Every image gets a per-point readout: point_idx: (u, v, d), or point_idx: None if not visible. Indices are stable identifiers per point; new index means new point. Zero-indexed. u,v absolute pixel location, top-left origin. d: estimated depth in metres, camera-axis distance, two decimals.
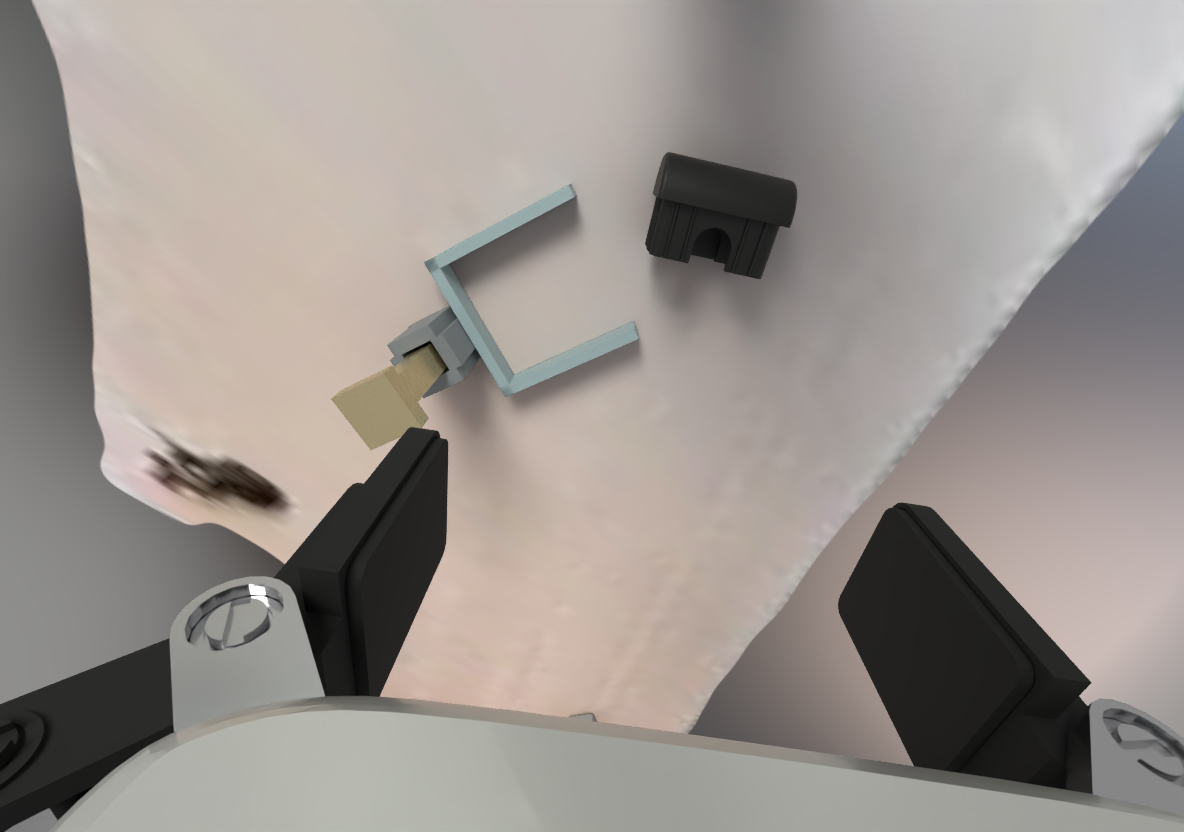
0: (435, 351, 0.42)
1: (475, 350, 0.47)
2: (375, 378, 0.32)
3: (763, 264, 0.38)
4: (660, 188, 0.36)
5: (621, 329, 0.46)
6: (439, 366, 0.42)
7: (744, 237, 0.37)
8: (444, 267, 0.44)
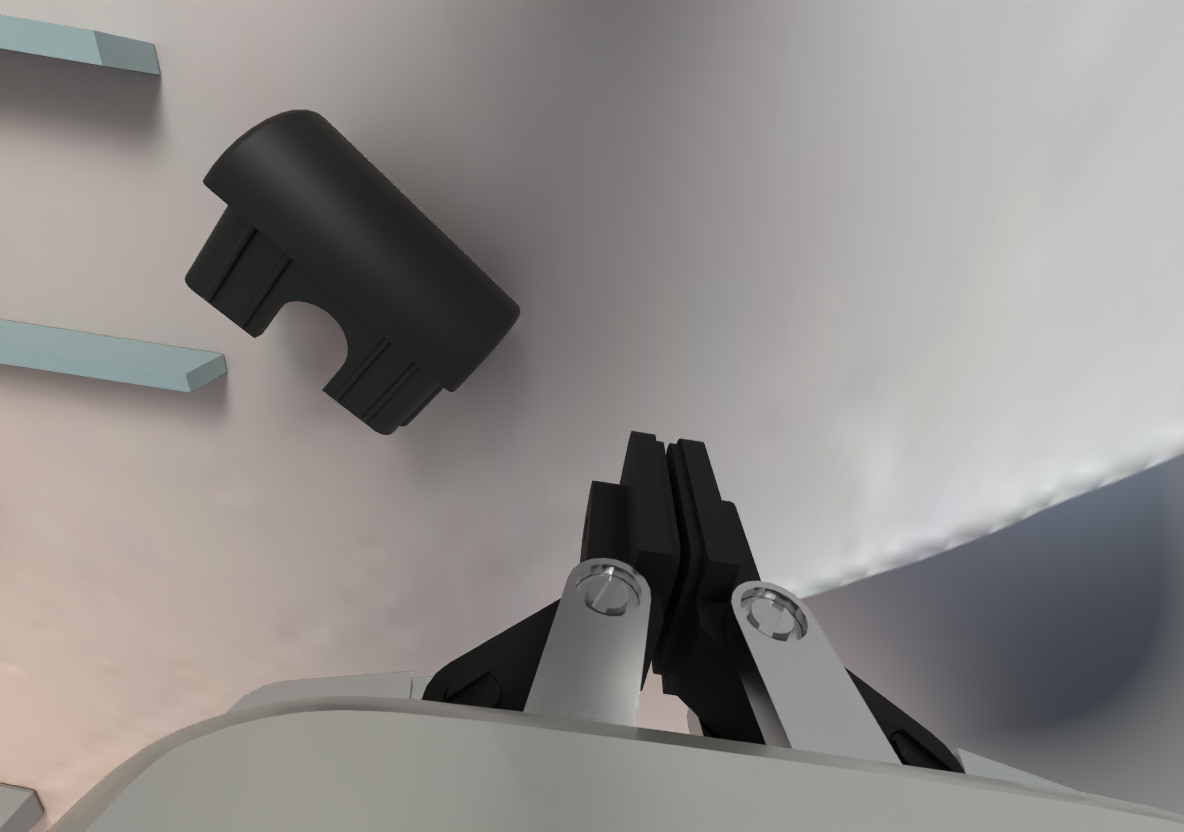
0: None
1: None
2: None
3: (397, 417, 0.20)
4: (214, 164, 0.15)
5: (184, 357, 0.25)
6: None
7: (371, 358, 0.18)
8: None
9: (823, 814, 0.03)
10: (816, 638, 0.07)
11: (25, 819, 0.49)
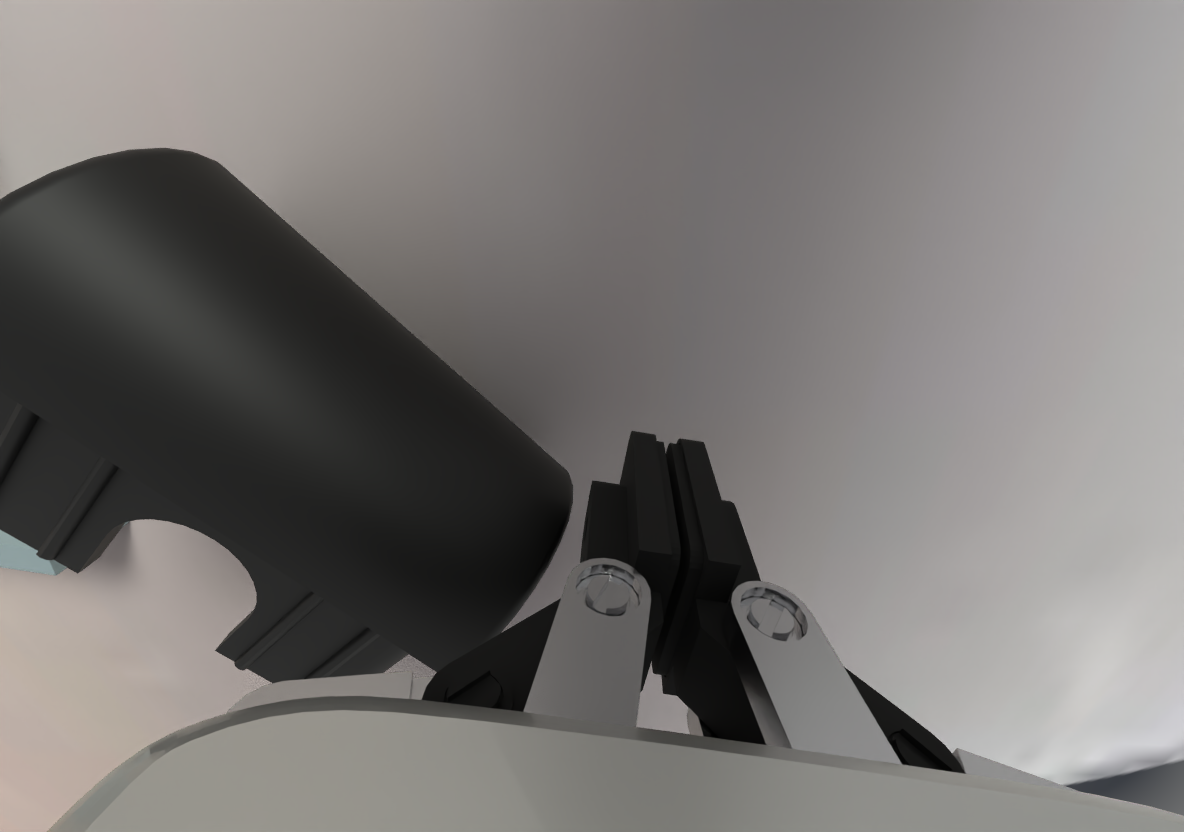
0: None
1: None
2: None
3: None
4: None
5: None
6: None
7: (301, 613, 0.10)
8: None
9: (823, 813, 0.03)
10: (816, 638, 0.07)
11: None
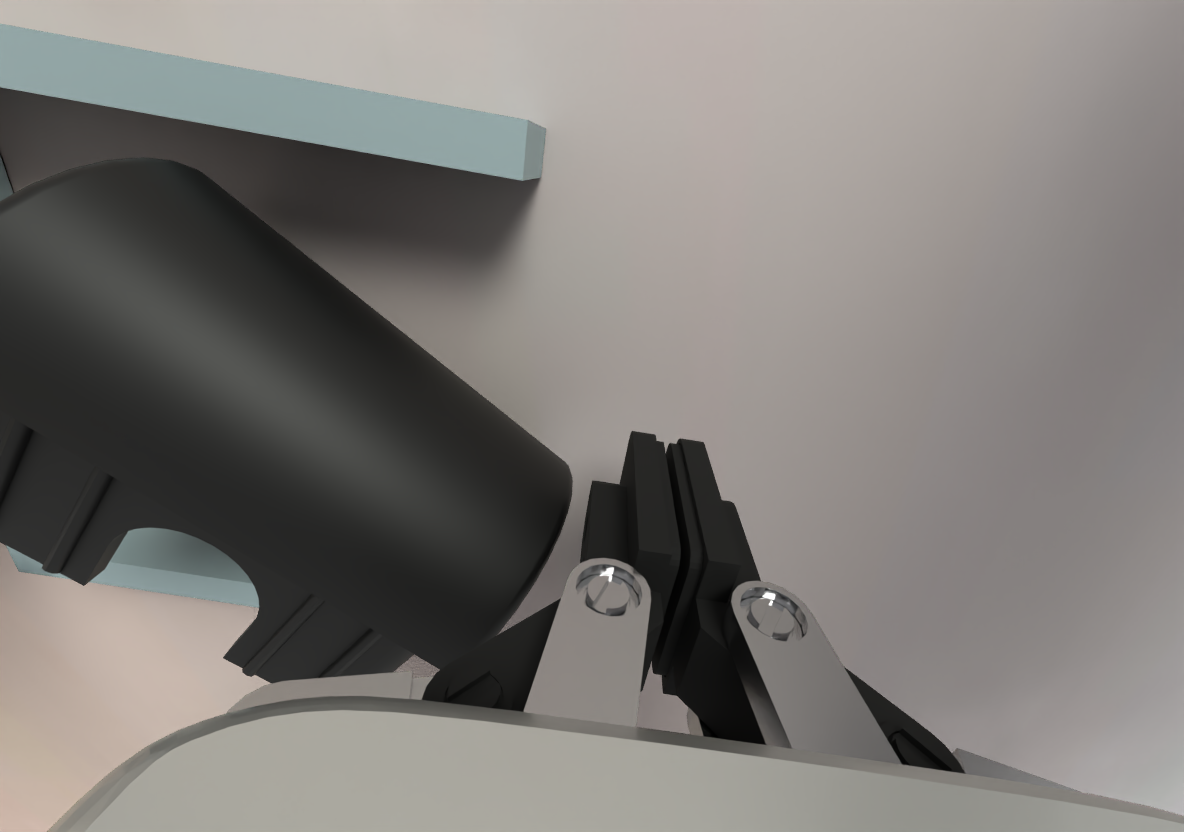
0: None
1: None
2: None
3: None
4: None
5: None
6: None
7: (303, 616, 0.10)
8: None
9: (823, 814, 0.03)
10: (816, 638, 0.07)
11: None
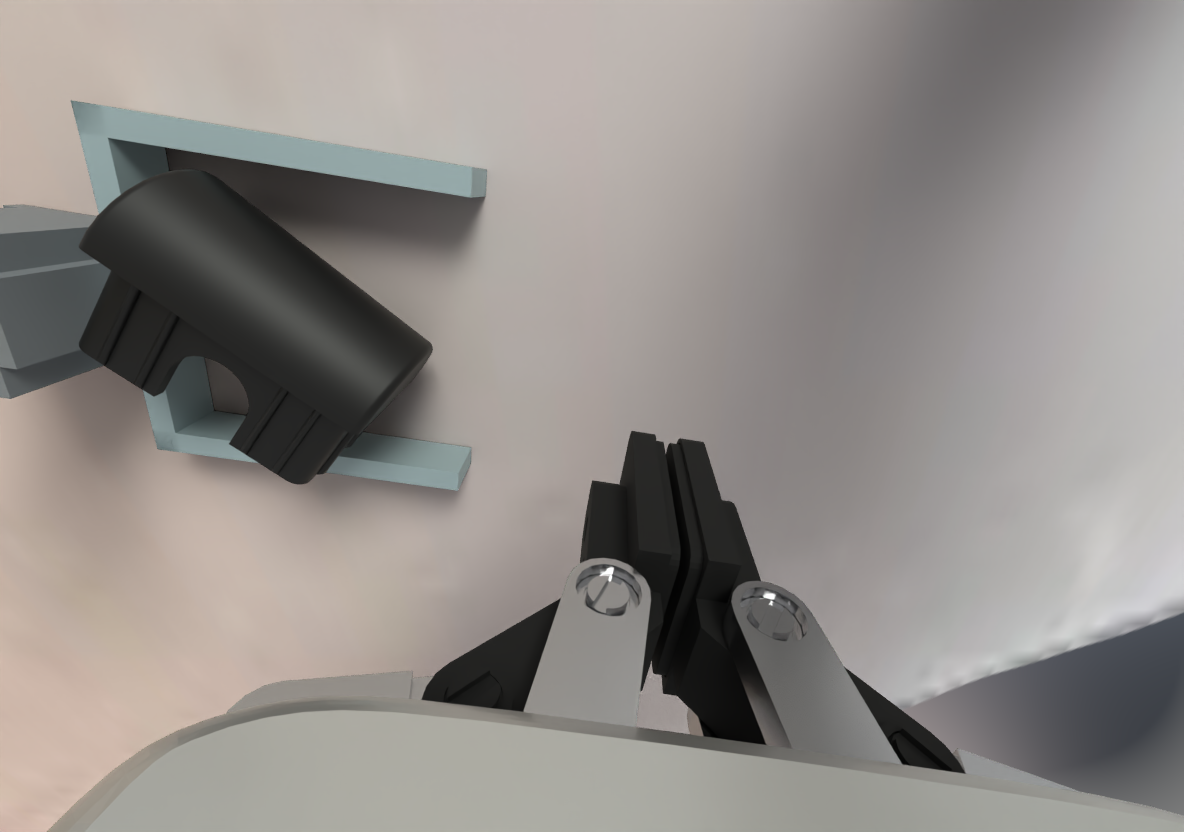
0: None
1: None
2: None
3: (308, 466, 0.19)
4: (89, 228, 0.15)
5: (442, 452, 0.25)
6: None
7: (272, 407, 0.18)
8: (133, 144, 0.19)
9: (823, 814, 0.03)
10: (816, 638, 0.07)
11: None
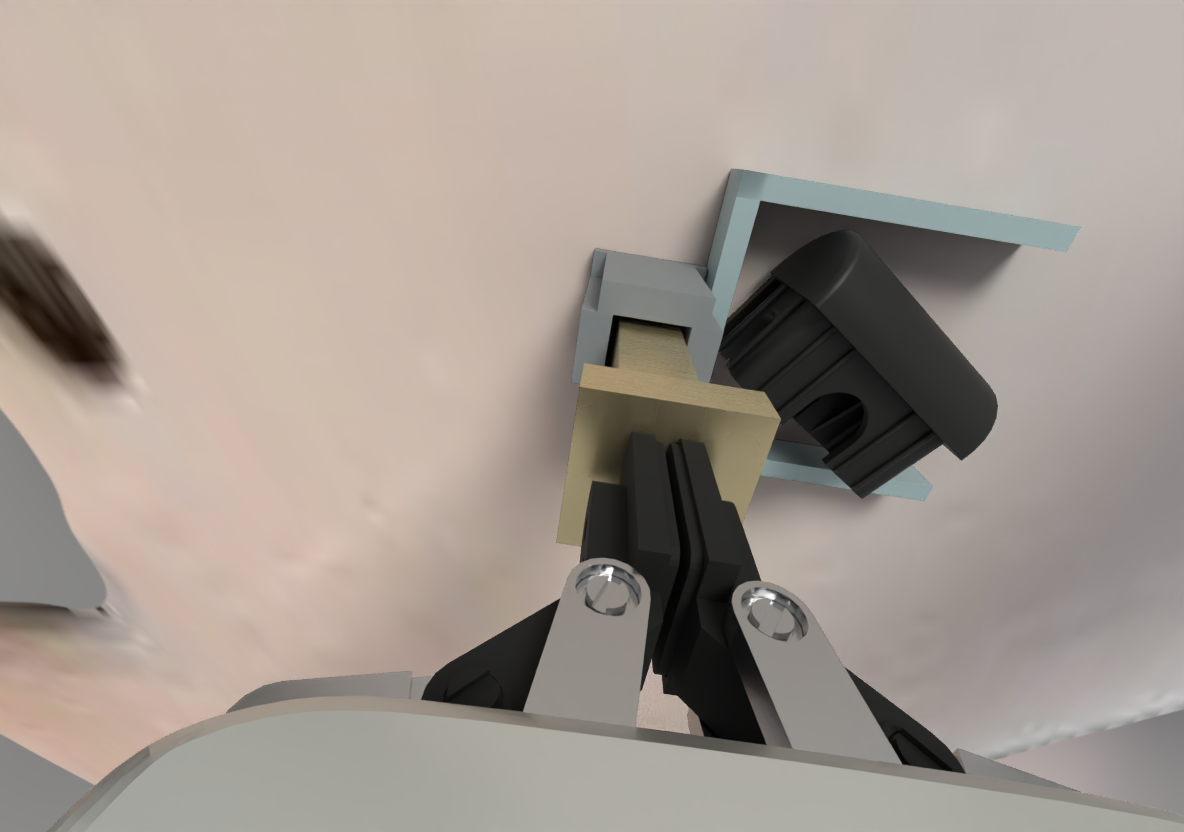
0: None
1: None
2: (747, 416, 0.11)
3: (882, 483, 0.22)
4: (825, 290, 0.18)
5: None
6: None
7: (888, 436, 0.21)
8: None
9: (823, 814, 0.03)
10: (816, 638, 0.07)
11: None
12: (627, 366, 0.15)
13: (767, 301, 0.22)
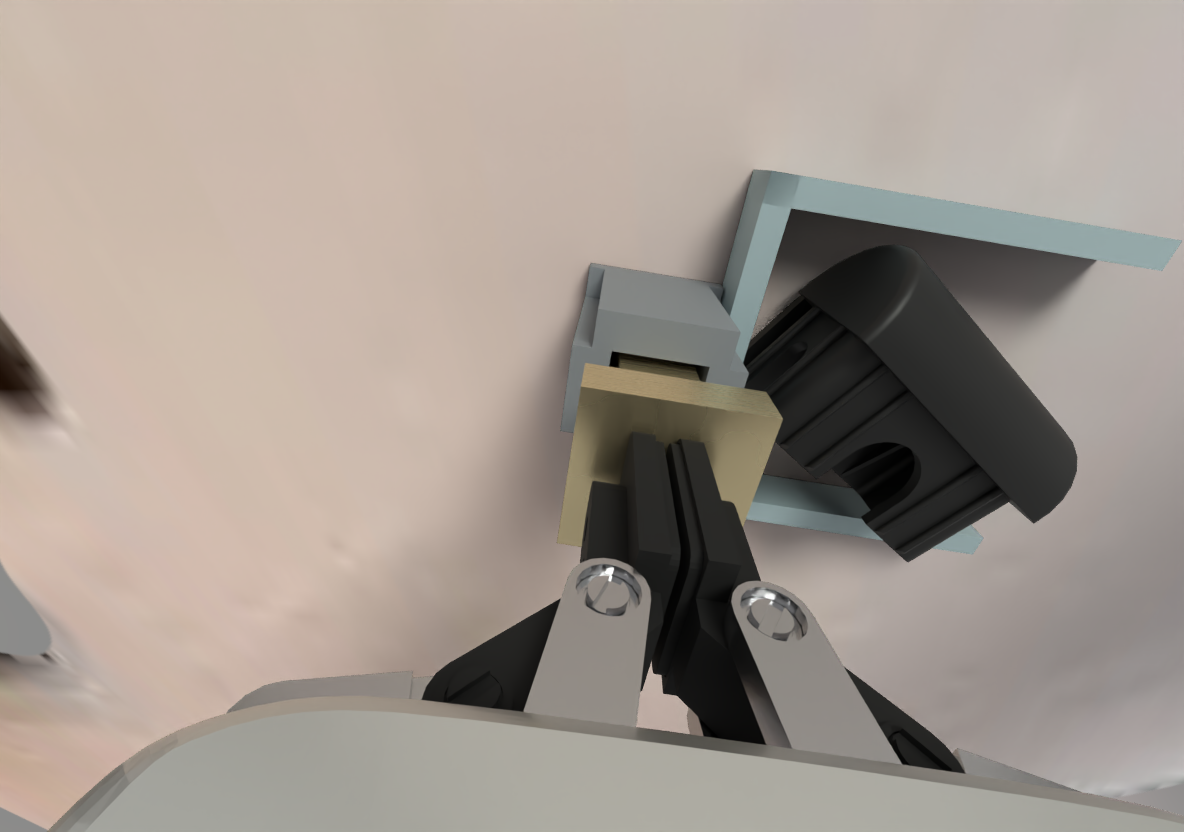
0: None
1: None
2: (749, 416, 0.11)
3: (933, 546, 0.19)
4: (877, 322, 0.14)
5: None
6: None
7: (945, 493, 0.17)
8: None
9: (823, 814, 0.03)
10: (816, 638, 0.07)
11: None
12: (627, 366, 0.15)
13: (796, 328, 0.19)
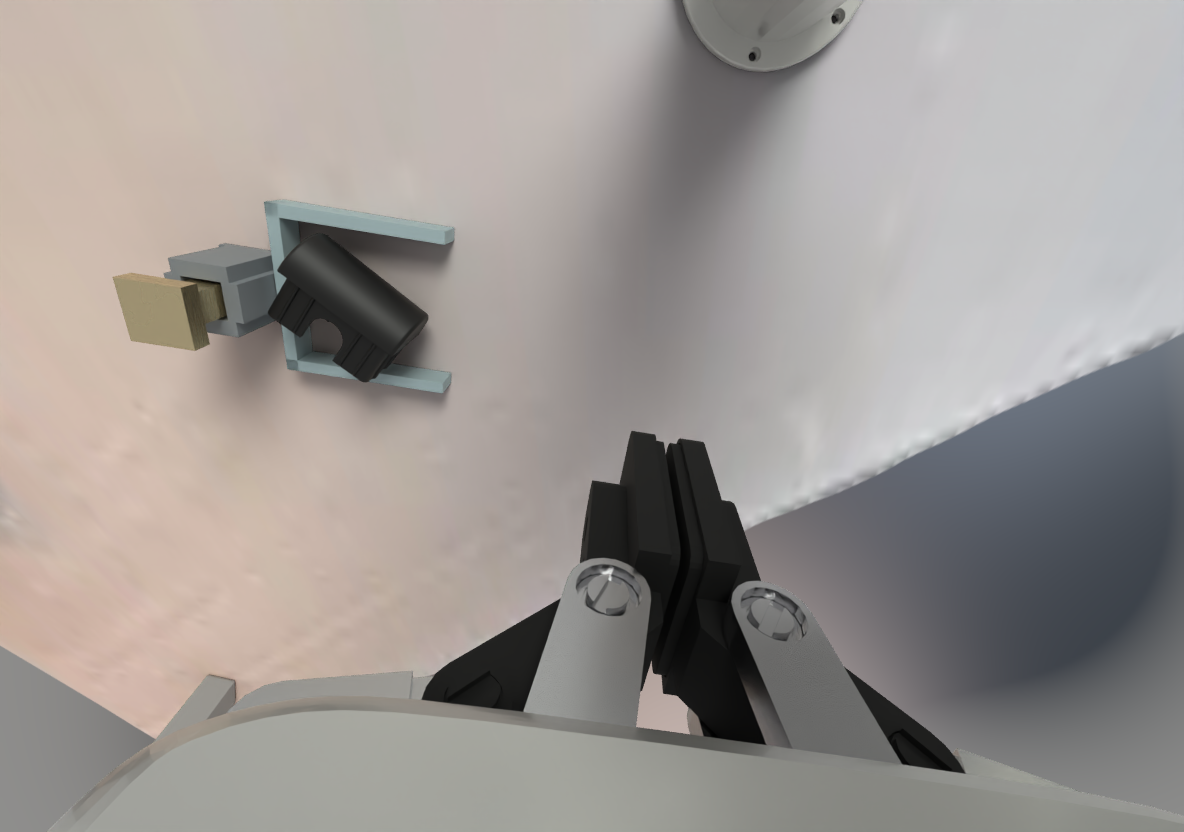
0: None
1: None
2: (170, 287, 0.33)
3: (369, 372, 0.41)
4: (281, 263, 0.36)
5: (434, 374, 0.46)
6: None
7: (353, 342, 0.39)
8: None
9: (822, 813, 0.03)
10: (816, 638, 0.07)
11: (228, 701, 0.69)
12: (185, 281, 0.37)
13: None
